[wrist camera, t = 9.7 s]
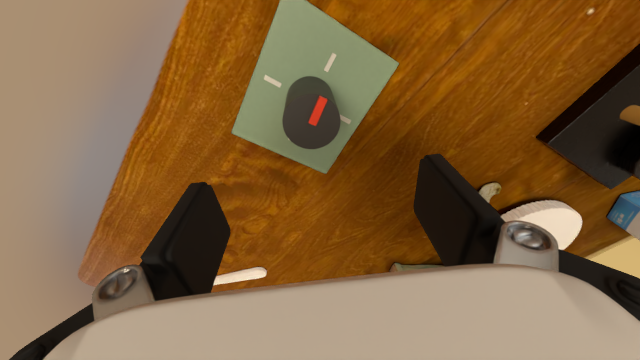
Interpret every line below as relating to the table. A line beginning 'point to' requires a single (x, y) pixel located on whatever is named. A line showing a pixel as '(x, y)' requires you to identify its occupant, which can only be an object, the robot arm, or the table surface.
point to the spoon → (241, 275)
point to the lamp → (631, 114)
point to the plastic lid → (549, 219)
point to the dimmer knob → (310, 113)
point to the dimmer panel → (310, 60)
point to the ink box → (627, 213)
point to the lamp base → (602, 127)
